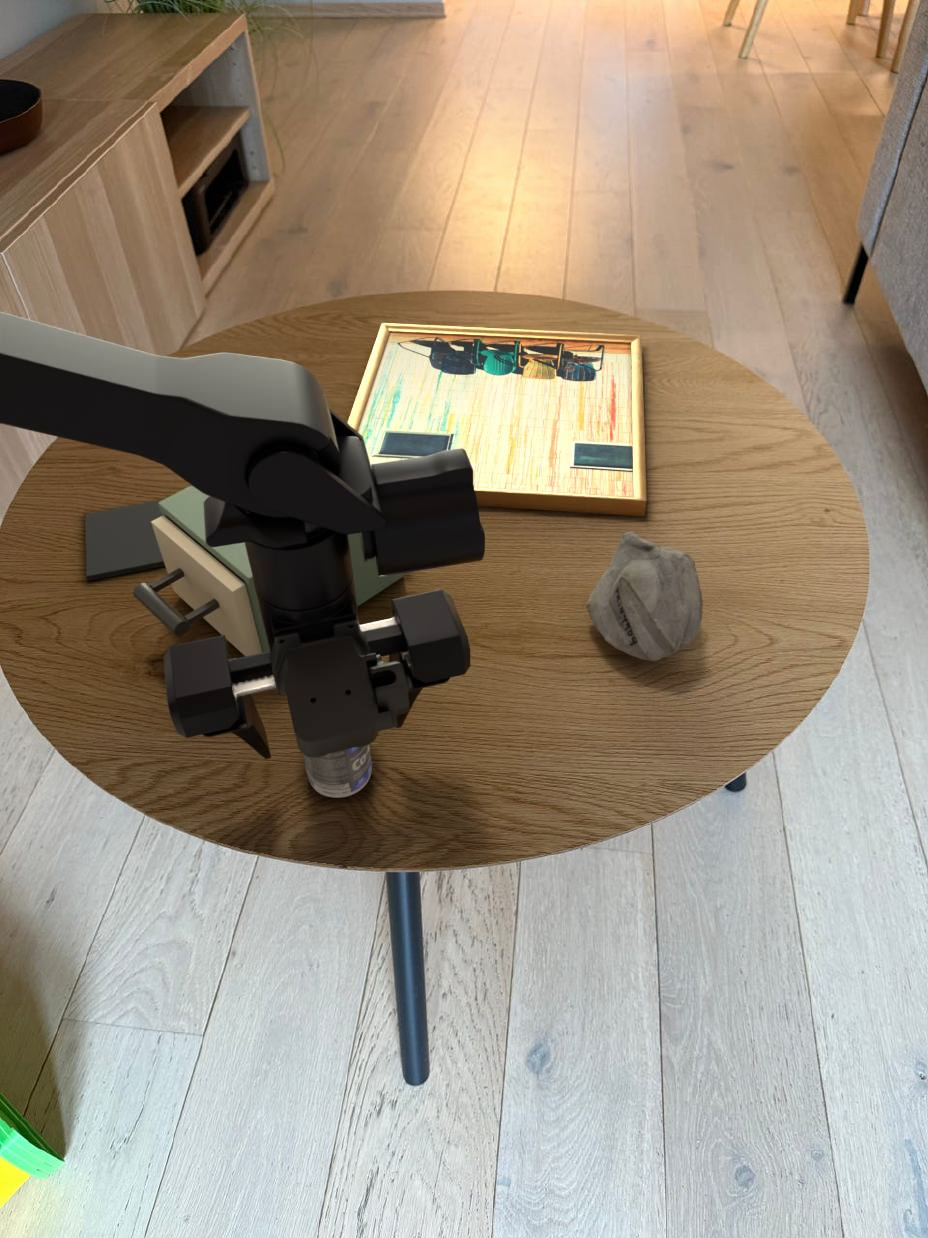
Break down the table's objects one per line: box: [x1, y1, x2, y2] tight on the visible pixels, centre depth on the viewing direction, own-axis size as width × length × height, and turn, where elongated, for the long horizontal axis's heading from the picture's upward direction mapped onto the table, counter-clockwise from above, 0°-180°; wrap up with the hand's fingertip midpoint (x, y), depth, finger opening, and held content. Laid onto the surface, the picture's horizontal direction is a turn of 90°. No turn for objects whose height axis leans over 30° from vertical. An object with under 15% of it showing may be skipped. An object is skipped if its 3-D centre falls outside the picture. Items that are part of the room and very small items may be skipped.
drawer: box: [132, 515, 262, 657], centre depth 78 cm, size 18×11×8 cm, turn 134°
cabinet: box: [158, 484, 404, 653], centre depth 80 cm, size 15×13×10 cm
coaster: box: [84, 499, 166, 582], centre depth 87 cm, size 9×9×1 cm
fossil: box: [586, 531, 704, 662], centre depth 76 cm, size 11×9×8 cm
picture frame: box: [347, 322, 648, 517], centre depth 100 cm, size 30×2×30 cm
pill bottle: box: [302, 744, 373, 799], centre depth 66 cm, size 5×5×8 cm
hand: (333, 738), depth 66 cm, fingers open, 9 cm apart
